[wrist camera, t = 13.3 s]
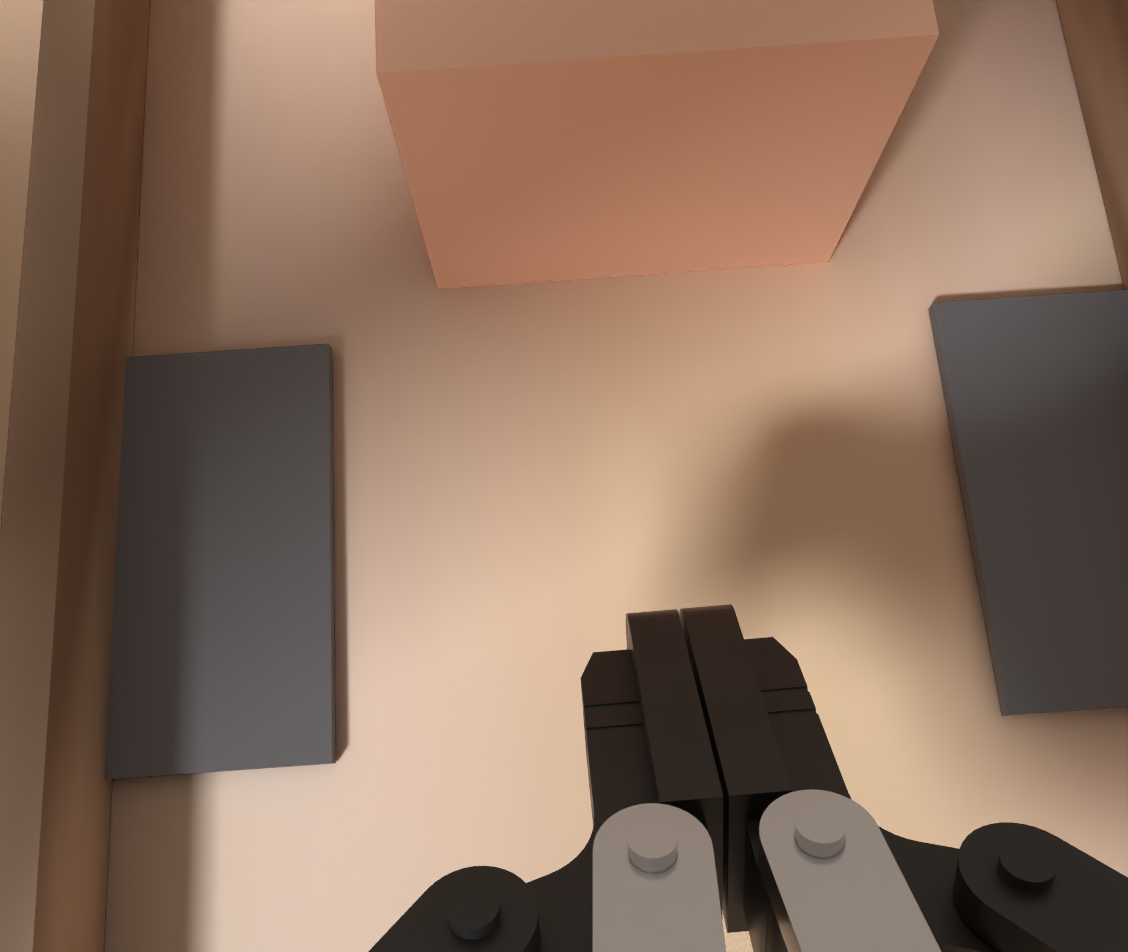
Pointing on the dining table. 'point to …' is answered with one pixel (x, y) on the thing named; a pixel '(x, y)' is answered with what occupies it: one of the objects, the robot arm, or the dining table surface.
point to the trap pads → (306, 532)
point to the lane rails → (94, 438)
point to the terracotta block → (640, 128)
